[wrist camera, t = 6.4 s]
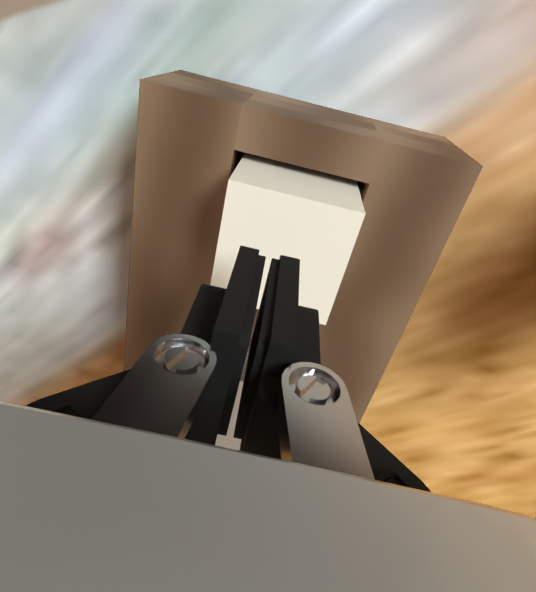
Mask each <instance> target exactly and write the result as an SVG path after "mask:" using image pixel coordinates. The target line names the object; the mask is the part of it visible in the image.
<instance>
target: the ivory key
mask: <svg viewBox="0 0 536 592" xmlns="http://www.w3.org/2000/svg"><path fill="white" fill-rule="evenodd" d="M365 214H366V213H365V210H364V206H363V202H362V199H361V195H360V192H359V188H358V185H357V181H356V180H353V179H349V178H345V177H341V176H337V175H333V174H329V173H325V172H321V171H317V170H313V169H309V168H305V167H301V166H297V165H293V164H289V163H285V162H281V161H277V160H273V159H269V158H265V157H261V156H257V155H253V154H249V153H245V154H244V156H243V157H242V159H241V160H240V162H239V164H238V165H237V167H236V168H235V170H234V172H233V173H232V175H231V176H230V178H229V180H228V185H227V191H226V197H225V203H224V209H223V214H222V220H221V226H220V232H219V238H218V243H217V249H216V255H215V261H214V266H213V272H212V278H211V284H210V285H212V286H216V287H221V288H225V289H227V286H228V283H229V280H230V277H231V273H232V270H233V267H234V264H235V261H236V258H237V255H238V252H239V248H240V246H246V247H250V248H254V249H258V250H259V255H261V256H265V257H266V260H265V265H264V270H263V275H262V281H261V286H260V291H259V297H258V302H257V307H256V309H259V307H260V303H261V299H262V296H263V292H264V288H265V284H266V280H267V276H268V272H269V268H270V264H271V260H272V258H274V259H278V260H279V258H280V255H284V256H288V257H292V258H297V259H300V274H299V302H298V305H299V306H303V307H308V308H312V309H316V310H318V312H319V324H323V325H326V323H327V320H328V317H329V314H330V312H331V309H332V306H333V303H334V301H335V298H336V295H337V292H338V289H339V287H340V284H341V281H342V278H343V275H344V273H345V270H346V267H347V264H348V261H349V259H350V256H351V253H352V250H353V248H354V245H355V242H356V239H357V236H358V234H359V231H360V228H361V225H362V222H363V220H364V217H365Z"/></svg>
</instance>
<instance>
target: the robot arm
mask: <svg viewBox="0 0 536 592" xmlns="http://www.w3.org/2000/svg"><path fill="white" fill-rule="evenodd" d="M265 260H266V257H265V256H261V255H259V250H258V249H254V248H250V247H246V246H240V248H239V252H238V255H237V258H236V261H235V264H234V267H233V270H232V273H231V277H230V280H229V283H228V286H227V289H225V288H221V287H216V286H212V285H208V284H203V283H202V284H201V286H200V289H199V291H198V293H197V296H196V298H195V300H194V303H193V305H192V307H191V310H190V312H189V314H188V317H187V319H186V321H185V324H184V326H183V328H182V331H181V333H180V334H172V335H166V336H163V337H161V338H159V339H156V340H155V341H154V342H153V343H152V344H151V345H150V346H149V347H148V348H147V349H146V351H145V352H144V353H143V354H142V356H141V357H140V358H139V360H138V361H137V362H136V363H135V365H134V366H133V367H132V368H131V369H129V370H126V371H123V372H120V373H117V374H114V375H111V376H108V377H105V378H102V379H99V380H96V381H93V382H90V383H87V384H84V385H81V386H78V387H75V388H72V389H69V390H66V391H63V392H60V393H57V394H54V395H51V396H48V397H45V398H42V399H39V400H37V401H35V402H33V403H30V404H28V405H27V406H23V405H18V404H13V403H8V402H3V401H0V592H536V517H532V516H528V515H524V514H520V513H516V512H512V511H508V510H504V509H501V508H497V507H493V506H489V505H485V504H481V503H477V502H473V501H468V500H464V499H459V498H455V497H450V496H446V495H441V494H437V493H432V492H431V491H430V490H429V489H428V488H427V487H426V485H425V484H424V483H423V482H422V481H421V480H420V479H419V478H418V477H417V476H416V475H415V474H413V473H412V472H411V471H410V470H409V469H408V468H407V467H406V466H405V465H404V464H403V463H401V462H400V461H399V460H398V459H397V458H396V457H395V456H394V455H393V454H392V453H391V452H390V451H388V450H387V449H386V448H385V447H384V446H383V445H382V444H381V443H380V442H379V441H378V440H376V439H375V438H374V437H373V436H372V435H371V434H370V433H369V432H368V431H367V430H366V429H364V428H363V427H362V426H361V425H360V424H359V423H358V422H357V420H356V416H355V413H354V410H353V407H352V403H351V400H350V397H349V394H348V390H347V388H346V386H345V384H344V382H343V380H342V379H341V378H340V377H339V376H338V375H337V374H336V373H335V372H333V371H332V370H330V369H329V368H327V367H324V366H322V365H321V359H320V334H319V312H318V310H316V309H312V308H308V307H303V306H299V305H298V302H299V274H300V259H297V258H292V257H288V256H284V255H280V258H279V260H278V259H274V258H272V260H271V264H270V268H269V272H268V276H267V280H266V284H265V288H264V292H263V296H262V299H261V303H260V307H259V311H258V315H257V319H256V323H255V327H254V331H253V335H252V340H251V344H250V349H249V355H248V360H247V365H246V371H245V376H244V382H243V387H242V392H241V398H240V403H239V409H238V414H237V419H236V425H235V430H234V436H233V438H238V439H241V445H240V451H239V450H234V449H230V448H225V447H220V446H215V443H216V438H217V434H219V435H224V436H226V435H227V431H228V427H229V423H230V419H231V415H232V411H233V407H234V403H235V399H236V395H237V391H238V387H239V383H240V379H241V375H242V371H243V367H244V363H245V359H246V355H247V351H248V347H249V343H250V338H251V333H252V328H253V323H254V318H255V312H256V307H257V302H258V297H259V291H260V286H261V281H262V275H263V270H264V265H265Z"/></svg>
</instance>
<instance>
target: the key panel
mask: <svg viewBox="0 0 536 592" xmlns="http://www.w3.org/2000/svg"><path fill="white" fill-rule="evenodd" d="M245 153H249V154H253V155H257V156H261V157H265V158H269V159H273V160H277V161H281V162H285V163H289V164H293V165H297V166H301V167H305V168H309V169H313V170H317V171H321V172H325V173H329V174H333V175H337V176H341V177H345V178H349V179H353V180H356V181H357V185H358V188H359V192H360V195H361V199H362V202H363V206H364V210H365V213H366V214H365V217H364V220H363V222H362V225H361V228H360V231H359V234H358V236H357V239H356V242H355V245H354V248H353V250H352V253H351V256H350V259H349V261H348V264H347V267H346V270H345V273H344V275H343V278H342V281H341V284H340V287H339V289H338V292H337V295H336V298H335V301H334V303H333V306H332V309H331V312H330V314H329V317H328V320H327V323H326V325H323V324H319V334H320V359H321V365H322V366H324V367H327V368H329V369H330V370H332V371H333V372H335V373H336V374H337V375H338V376H339V377H340V378H341V379H342V380H343V382H344V384H345V386H346V388H347V390H348V394H349V397H350V400H351V403H352V407H353V410H354V413H355V416H356V420H357V422H358V423H360V421H361V418H362V416H363V414H364V412H365V410H366V408H367V406H368V404H369V402H370V400H371V398H372V396H373V394H374V391H375V389H376V387H377V385H378V383H379V381H380V379H381V377H382V375H383V373H384V371H385V369H386V367H387V364H388V362H389V360H390V358H391V356H392V354H393V352H394V350H395V348H396V346H397V344H398V342H399V339H400V337H401V335H402V333H403V331H404V329H405V327H406V325H407V323H408V321H409V319H410V317H411V315H412V312H413V310H414V308H415V306H416V304H417V302H418V300H419V298H420V296H421V294H422V292H423V290H424V288H425V285H426V283H427V281H428V279H429V277H430V275H431V273H432V271H433V269H434V267H435V265H436V263H437V260H438V258H439V256H440V254H441V252H442V250H443V248H444V246H445V244H446V242H447V240H448V238H449V236H450V233H451V231H452V229H453V227H454V225H455V223H456V221H457V219H458V217H459V215H460V213H461V211H462V209H463V206H464V204H465V202H466V200H467V198H468V196H469V194H470V192H471V190H472V188H473V186H474V184H475V182H476V179H477V177H478V175H479V173H480V171H481V169H482V167H483V166H482V165H481V164H479V163H478V162H477V161H475V160H474V159H473V158H471V157H470V156H469V155H468V154H466V153H465V152H464V151H462V150H461V149H460V148H458V147H457V146H456V145H454V144H453V143H452V142H451V141H449V140H448V139H447V138H445V137H441V136H437V135H433V134H429V133H425V132H421V131H418V130H414V129H410V128H406V127H402V126H398V125H394V124H390V123H386V122H382V121H378V120H374V119H370V118H366V117H363V116H359V115H355V114H351V113H347V112H343V111H339V110H335V109H331V108H327V107H323V106H319V105H315V104H312V103H308V102H304V101H300V100H296V99H292V98H288V97H284V96H280V95H276V94H272V93H268V92H264V91H260V90H257V89H253V88H249V87H245V86H241V85H237V84H233V83H229V82H225V81H221V80H217V79H213V78H209V77H206V76H202V75H198V74H194V73H190V72H186V71H182V70H178V71H174V72H170V73H165V74H161V75H157V76H152V77H148V78H144V79H140V87H139V105H138V123H137V141H136V159H135V177H134V195H133V213H132V231H131V249H130V267H129V285H128V303H127V321H126V339H125V356H124V371H126V370H129V369H131V368H132V367H133V366H134V365H135V363H136V362H137V361H138V360H139V358H140V357H141V356H142V354H143V353H144V352H145V351H146V349H147V348H148V347H149V346H150V345H151V344H152V343H153V342H154V341H155V340H156V339H159V338H161V337H163V336H166V335H172V334H180V333H181V331H182V328H183V326H184V324H185V321H186V319H187V317H188V314H189V312H190V310H191V307H192V305H193V303H194V300H195V298H196V296H197V293H198V291H199V289H200V286H201V284H202V283H203V284H208V285H210V284H211V278H212V272H213V266H214V261H215V255H216V249H217V243H218V238H219V232H220V226H221V220H222V214H223V209H224V203H225V197H226V191H227V185H228V180H229V178H230V176H231V175H232V173H233V172H234V170H235V168H236V167H237V165H238V164H239V162H240V160H241V159H242V157H243V156H244V154H245ZM258 311H259V309H256V312H255V318H254V323H253V328H252V333H251V338H250V339H252V335H253V331H254V327H255V323H256V319H257V315H258Z"/></svg>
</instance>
